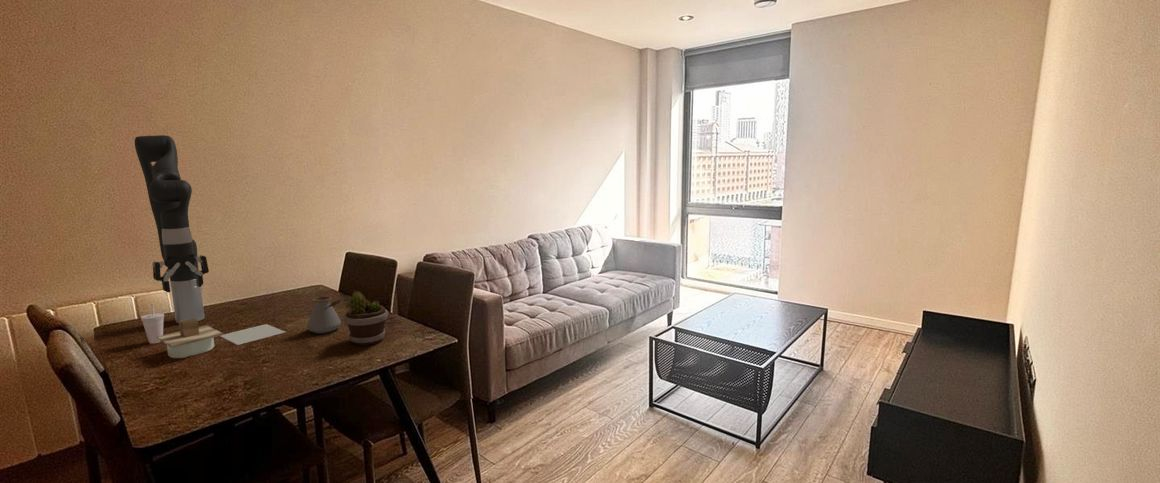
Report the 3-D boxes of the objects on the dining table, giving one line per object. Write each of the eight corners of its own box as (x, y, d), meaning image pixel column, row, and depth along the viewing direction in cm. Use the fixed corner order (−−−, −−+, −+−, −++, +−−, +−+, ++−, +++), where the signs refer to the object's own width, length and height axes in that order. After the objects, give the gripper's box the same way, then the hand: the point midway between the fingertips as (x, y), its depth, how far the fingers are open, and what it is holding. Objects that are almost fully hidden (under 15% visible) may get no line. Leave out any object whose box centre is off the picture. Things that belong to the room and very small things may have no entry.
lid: (157, 338, 164) (154, 322, 163) (206, 327, 176) (204, 311, 175) (172, 347, 156) (169, 330, 155) (222, 335, 168) (220, 318, 167)
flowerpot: (371, 331, 187) (368, 280, 184) (398, 338, 179) (395, 285, 176) (336, 343, 174) (331, 288, 171) (363, 351, 167) (359, 294, 164)
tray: (219, 336, 180) (219, 335, 180) (266, 325, 193) (266, 324, 193) (238, 345, 171) (237, 344, 171) (286, 333, 184) (286, 332, 184)
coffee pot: (302, 331, 186) (299, 293, 184) (333, 324, 195) (330, 287, 192) (326, 345, 172) (322, 304, 170) (358, 336, 181) (355, 297, 179)
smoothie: (154, 345, 171) (148, 307, 169) (139, 344, 173) (133, 306, 170) (172, 339, 178) (167, 302, 175) (158, 337, 179) (152, 300, 177)
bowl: (163, 352, 165) (161, 338, 164) (205, 342, 175) (204, 328, 174) (176, 360, 158) (174, 346, 158) (219, 349, 168) (217, 335, 167)
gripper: (199, 237, 168) (204, 283, 171) (145, 243, 157) (152, 292, 160) (207, 239, 164) (213, 286, 167) (153, 245, 153) (160, 295, 155)
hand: (183, 289), depth 163 cm, fingers open, 8 cm apart
